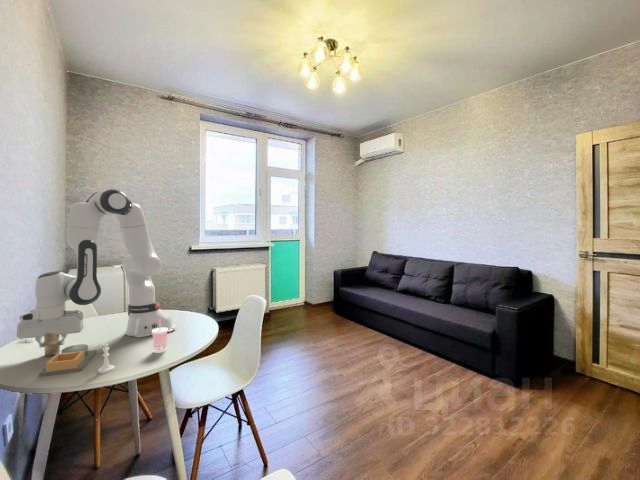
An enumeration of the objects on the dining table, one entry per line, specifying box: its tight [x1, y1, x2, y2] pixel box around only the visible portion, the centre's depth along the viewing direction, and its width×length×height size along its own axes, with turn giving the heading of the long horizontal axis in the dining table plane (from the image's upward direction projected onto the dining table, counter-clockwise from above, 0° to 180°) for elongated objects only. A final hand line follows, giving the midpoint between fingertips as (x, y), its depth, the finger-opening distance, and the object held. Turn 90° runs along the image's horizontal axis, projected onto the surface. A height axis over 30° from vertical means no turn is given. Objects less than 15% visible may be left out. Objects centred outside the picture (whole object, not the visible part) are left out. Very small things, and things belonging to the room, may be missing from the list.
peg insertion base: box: [38, 343, 98, 378], centre depth 111 cm, size 12×17×4 cm
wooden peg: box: [43, 333, 61, 357], centre depth 118 cm, size 4×4×9 cm
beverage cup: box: [152, 318, 168, 354], centre depth 123 cm, size 6×6×14 cm
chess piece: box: [97, 342, 115, 374], centre depth 106 cm, size 5×5×10 cm
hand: (52, 345), depth 118 cm, fingers closed on wooden peg, 4 cm apart
